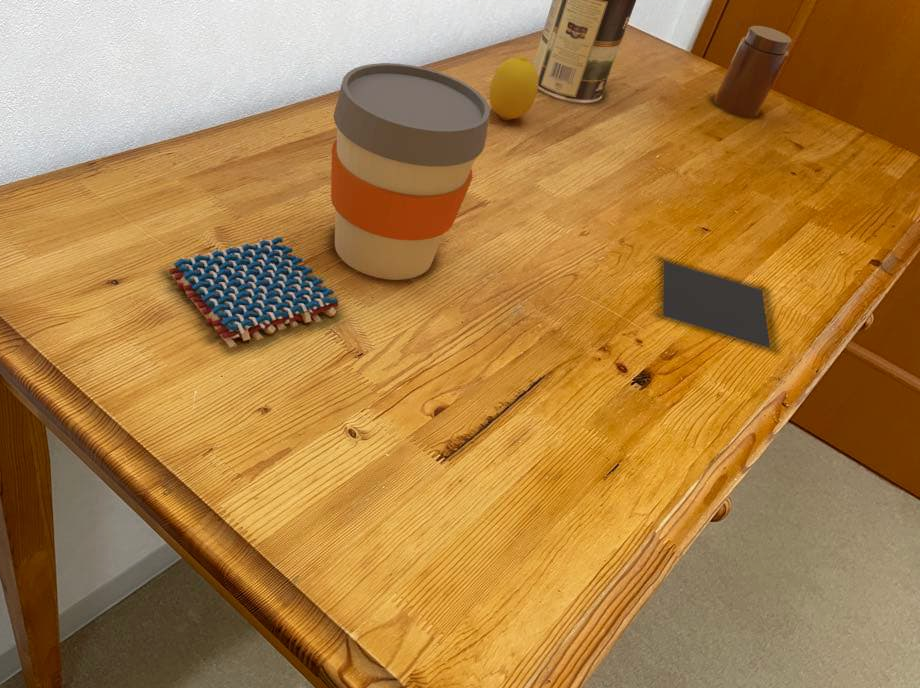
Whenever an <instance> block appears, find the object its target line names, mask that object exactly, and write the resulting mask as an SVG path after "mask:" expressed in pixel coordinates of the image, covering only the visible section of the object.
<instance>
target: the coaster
mask: <svg viewBox="0 0 920 688" xmlns="http://www.w3.org/2000/svg"><path fill="white" fill-rule="evenodd" d="M662 306H663V307H662V315H663V317H666V318H669V319H673V320H674V321H675V320H676V321H679V322H682V323H685V324H688V325H693V326H695V327H699V328H702V329H705V330H708V331H712V332H715V333H719V334H721V335H725V336H729V337H732V338H736V339H739V340H742V341H745V342H748V343H752V344H754V345H755V344H756V345H759V346H762V347H765V348H768V349H769V348H770V349H771V344H770V337H769V330H768V322H767V316H766V309H765V308H766V307H765V303H764V293H763V290H762V289H760V288H756V287H753V286H750V285H746V284H744V283H740V282H737V281H733V280H730V279H727V278H723V277H720V276H716V275H713V274H710V273H706V272H702V271H699V270H696V269H692V268H690V267H686V266H682V265H679V264H675V263H672V262H669V261H666V260H665V261H663V304H662Z"/></svg>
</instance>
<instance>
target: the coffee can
mask: <svg viewBox="0 0 920 688" xmlns="http://www.w3.org/2000/svg"><path fill="white" fill-rule="evenodd" d="M636 3H637V0H552V1H551V4H550V7H549V10H548V15H547V18H546V21H545V24H544V28H543V31H542V35H541V38H540V41H539V44H538V49H537V50H536V51H537V52H536V55H535V59H534V61H533V65H534V67H535V68H536V70H537V73H538V90H539V91H541V92H542V93H545V94H547V95H549V96H552V97H554V98H557V99H560V100H563V101H567V102H573V103H580V104H590V103H595V102H598V101H600V100H601V99H602V98H603V94H604V90H605V88H606V86H607V82H608V80H609V76H610V74H611V71H612V68H613V66H614V63H615V60H616V58H617V55H618V52H619V49H620V47H621V43H622V41H623V38H624V36H625V32H626V30H627V27H628V24H629V22H630V19H631V16H632V13H633V11H634V8H635V5H636Z"/></svg>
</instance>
